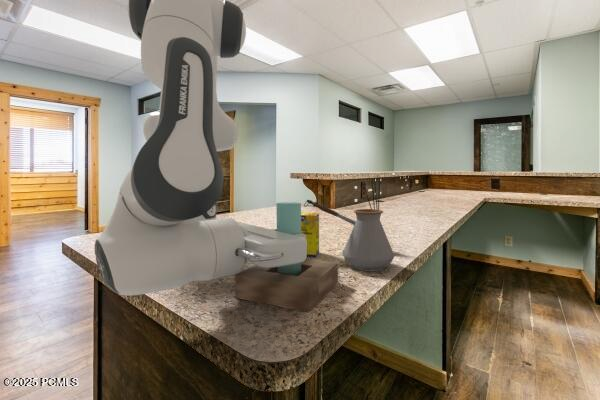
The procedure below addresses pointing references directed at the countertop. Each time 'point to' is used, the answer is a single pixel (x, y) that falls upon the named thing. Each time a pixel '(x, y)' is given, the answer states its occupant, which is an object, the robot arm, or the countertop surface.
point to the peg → (289, 230)
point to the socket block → (288, 285)
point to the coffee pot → (365, 240)
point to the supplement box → (311, 232)
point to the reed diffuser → (373, 194)
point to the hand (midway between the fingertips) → (293, 235)
